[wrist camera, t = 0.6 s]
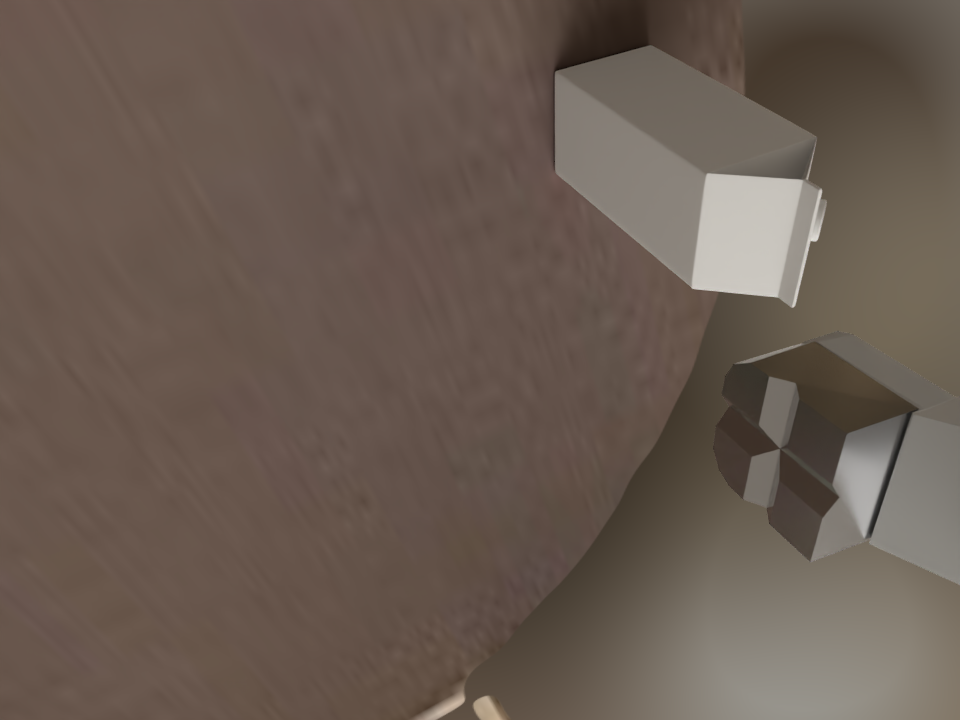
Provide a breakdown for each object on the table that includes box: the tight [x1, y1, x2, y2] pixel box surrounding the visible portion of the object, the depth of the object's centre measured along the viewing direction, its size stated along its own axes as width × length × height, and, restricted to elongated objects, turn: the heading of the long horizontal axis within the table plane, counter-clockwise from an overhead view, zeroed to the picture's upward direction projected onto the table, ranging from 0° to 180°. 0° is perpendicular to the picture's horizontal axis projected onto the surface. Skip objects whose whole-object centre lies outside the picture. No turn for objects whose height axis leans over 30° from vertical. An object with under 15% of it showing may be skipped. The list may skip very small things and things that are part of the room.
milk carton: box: [555, 45, 827, 307], centre depth 49 cm, size 7×7×19 cm
